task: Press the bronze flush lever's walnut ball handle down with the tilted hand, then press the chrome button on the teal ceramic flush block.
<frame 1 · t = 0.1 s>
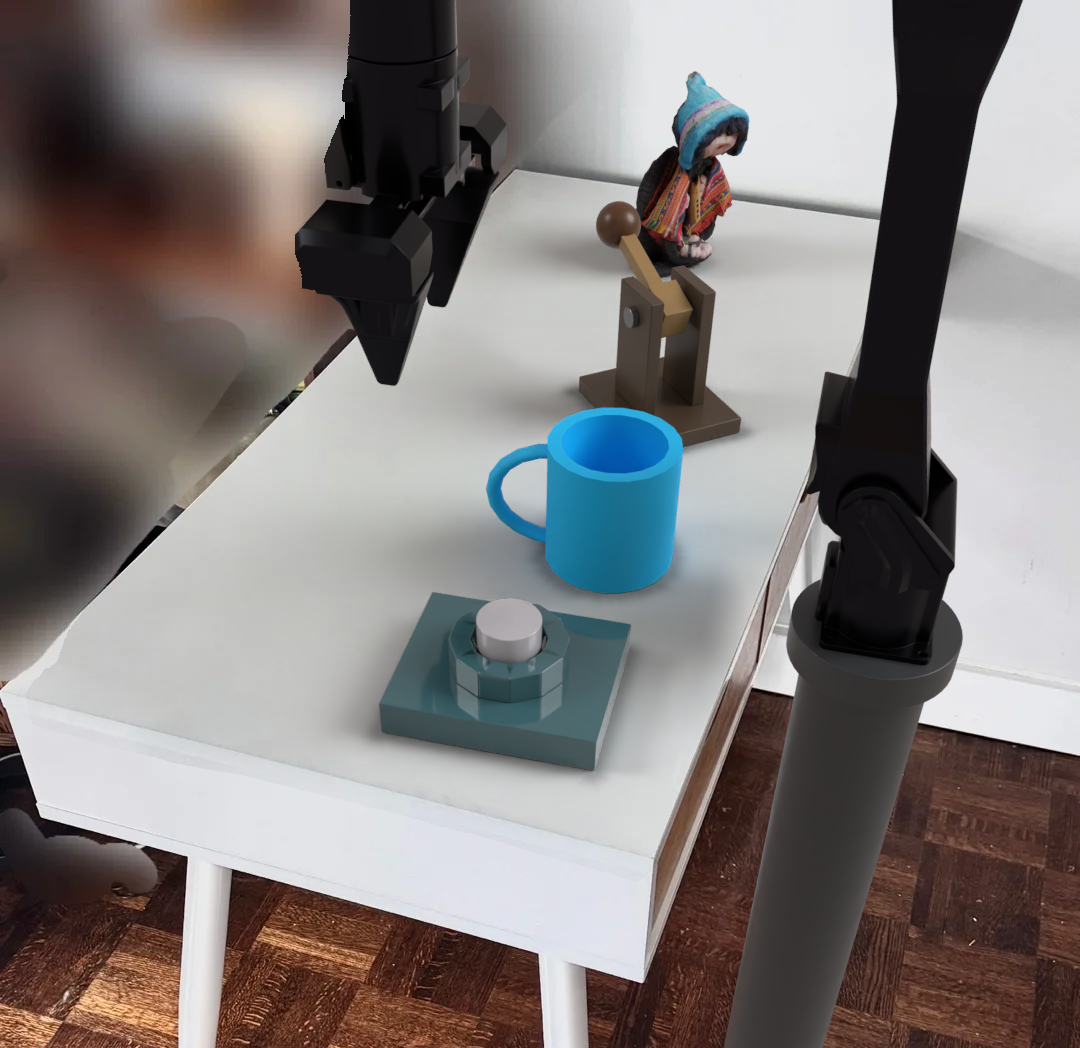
hand: (414, 342, 75), 15 cm above the table, tool pointing down, fingers open, 9 cm apart
flush lever: (641, 265, 94), point 10 cm above the table, hinge at 22.0°
flush block: (509, 691, 76), on the table
mug: (578, 552, 86), on the table
lever bracket: (657, 411, 98), on the table
flush button: (509, 630, 73), point 4 cm above the table, slide at 0.1 cm
figurine: (683, 263, 116), on the table
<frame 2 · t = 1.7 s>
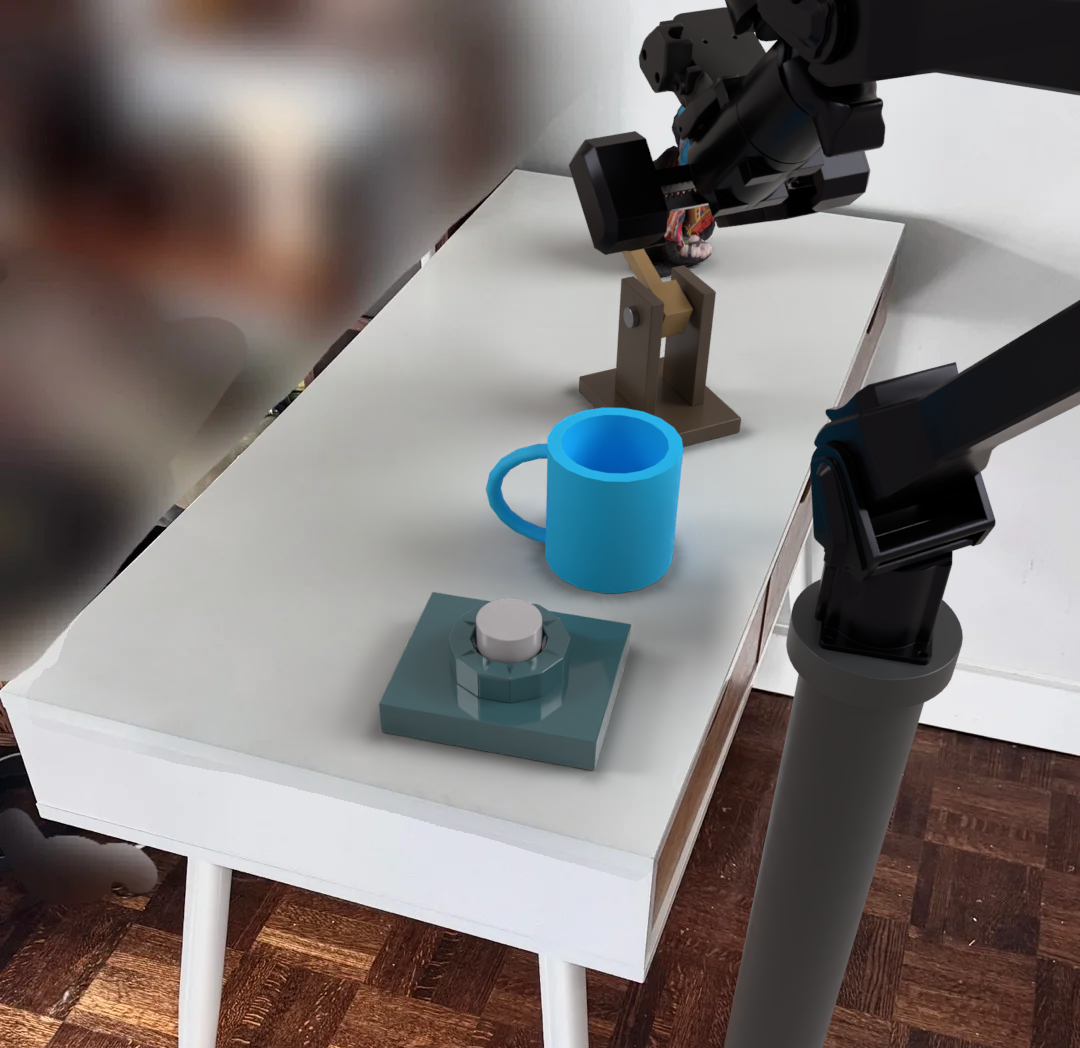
hand: (668, 230, 89), 13 cm above the table, tool tilted 45°, fingers open, 7 cm apart
nothing on the table moved.
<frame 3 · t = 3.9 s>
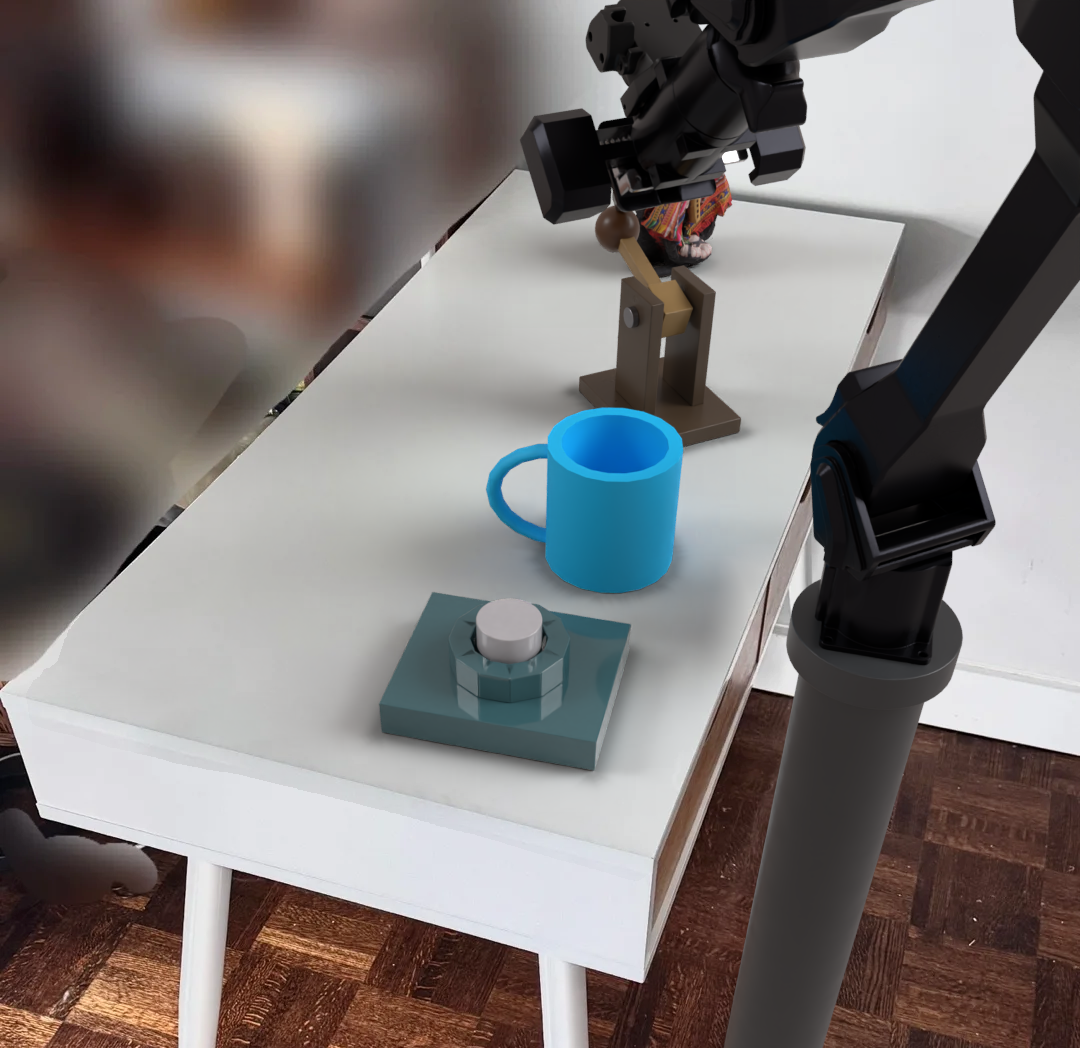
hand: (618, 203, 94), 13 cm above the table, tool tilted 45°, fingers closed, pressing on flush lever
flush lever: (640, 267, 94), point 9 cm above the table, hinge at 19.3°, touching gripper
everything else where it was.
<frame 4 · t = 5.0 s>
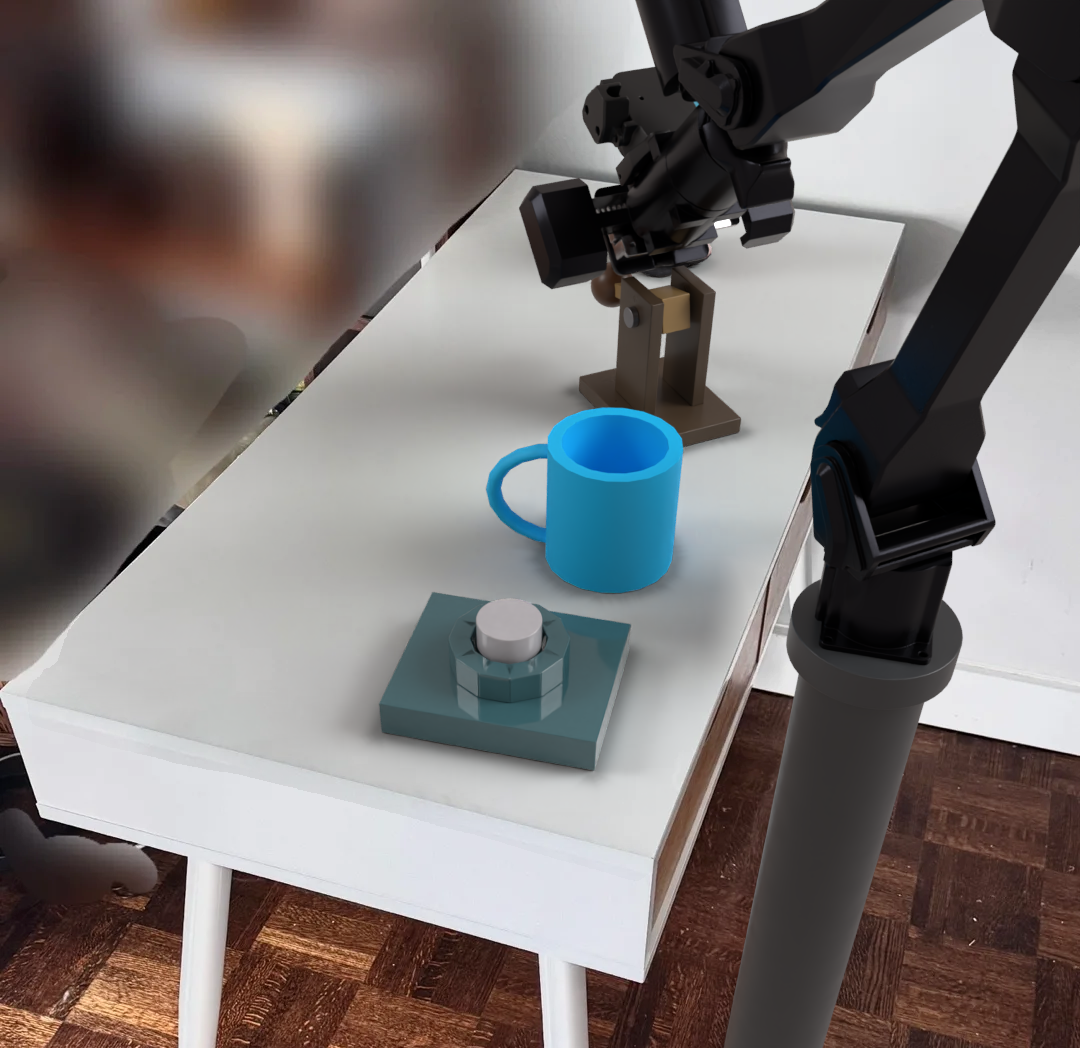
hand: (614, 262, 97), 8 cm above the table, tool tilted 45°, fingers closed, pressing on flush lever
flush lever: (637, 296, 95), point 7 cm above the table, hinge at -12.2°, touching gripper
everything else where it was.
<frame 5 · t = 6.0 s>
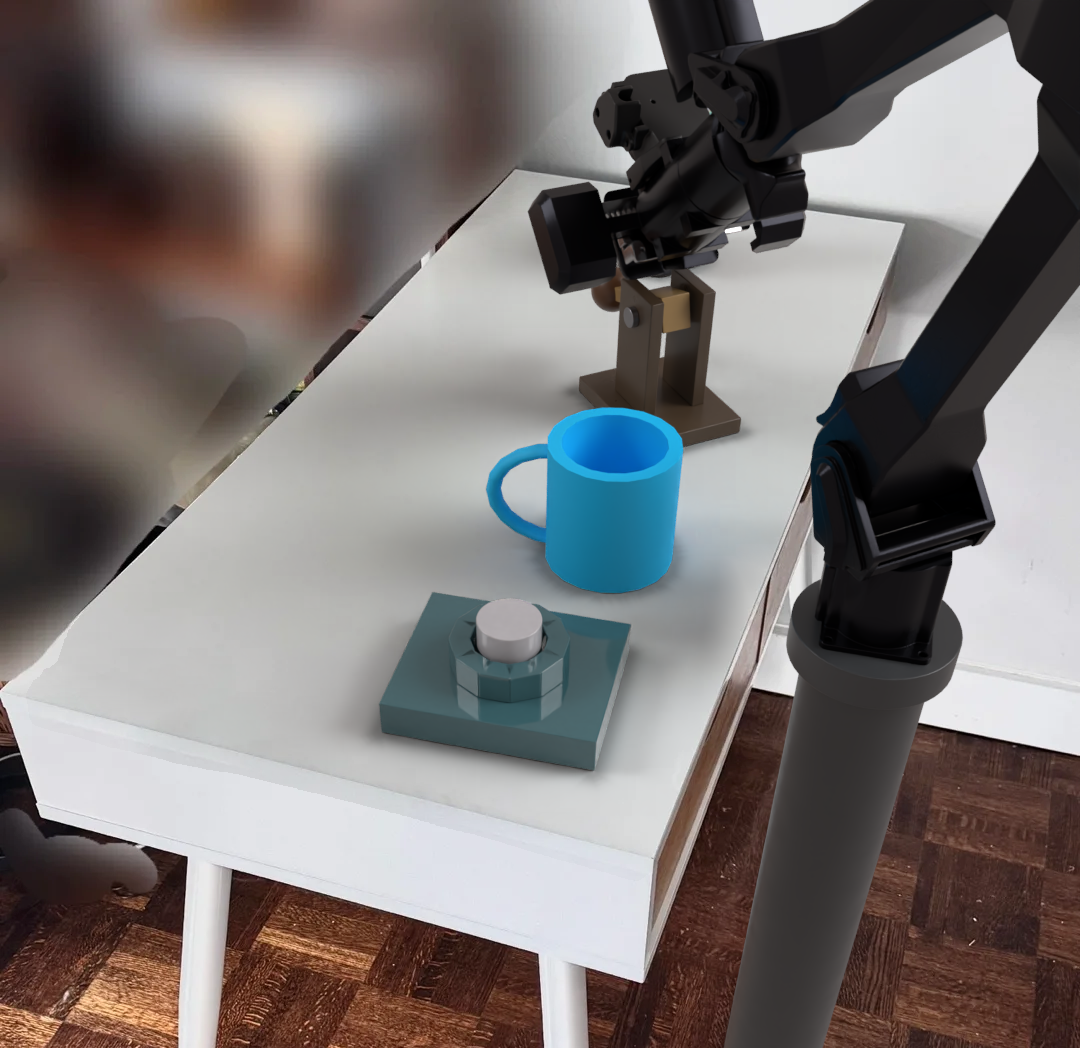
hand: (622, 264, 96), 8 cm above the table, tool tilted 45°, fingers closed, pressing on lever bracket
flush lever: (637, 298, 95), point 7 cm above the table, hinge at -14.6°
everything else where it was.
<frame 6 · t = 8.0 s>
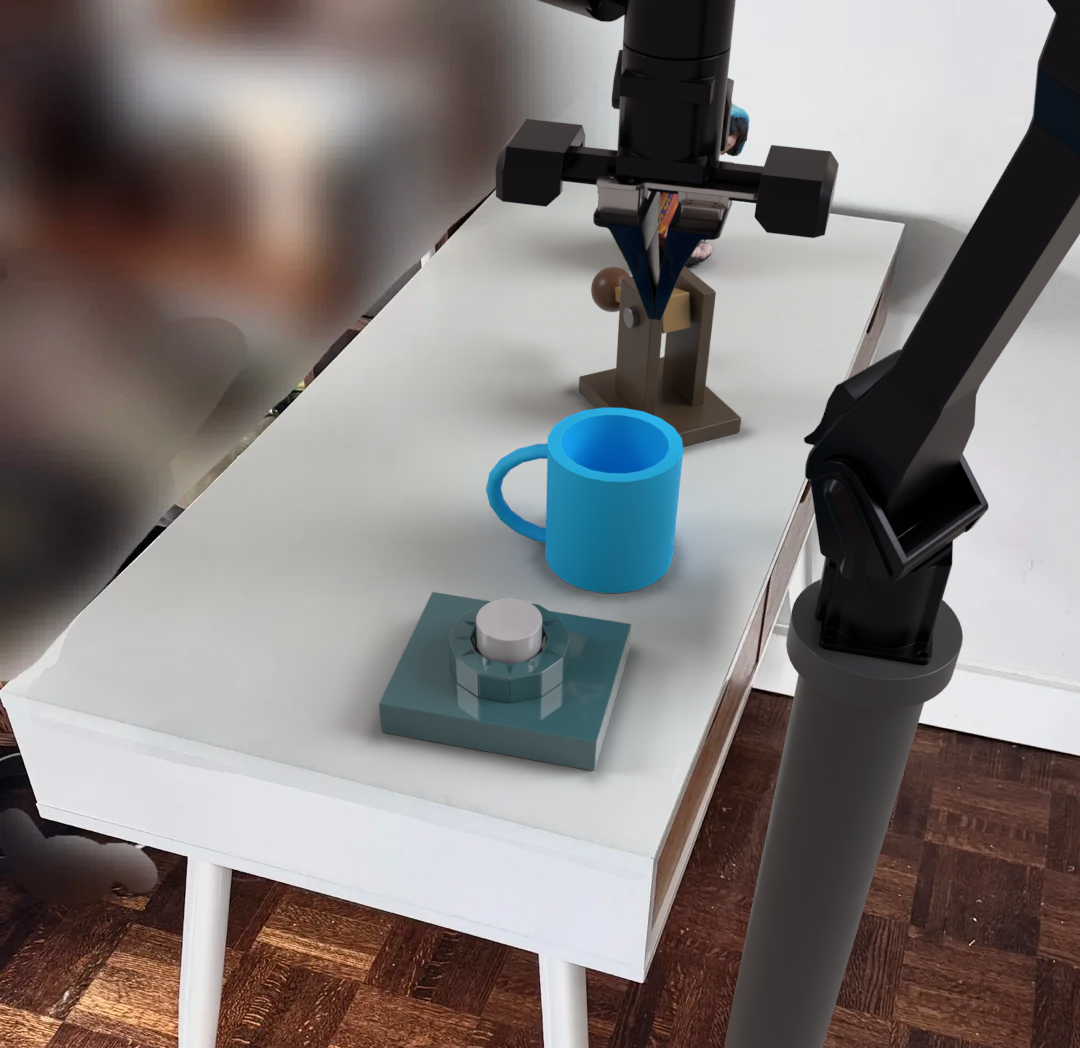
hand: (655, 317, 81), 13 cm above the table, tool pointing down, fingers closed
nothing on the table moved.
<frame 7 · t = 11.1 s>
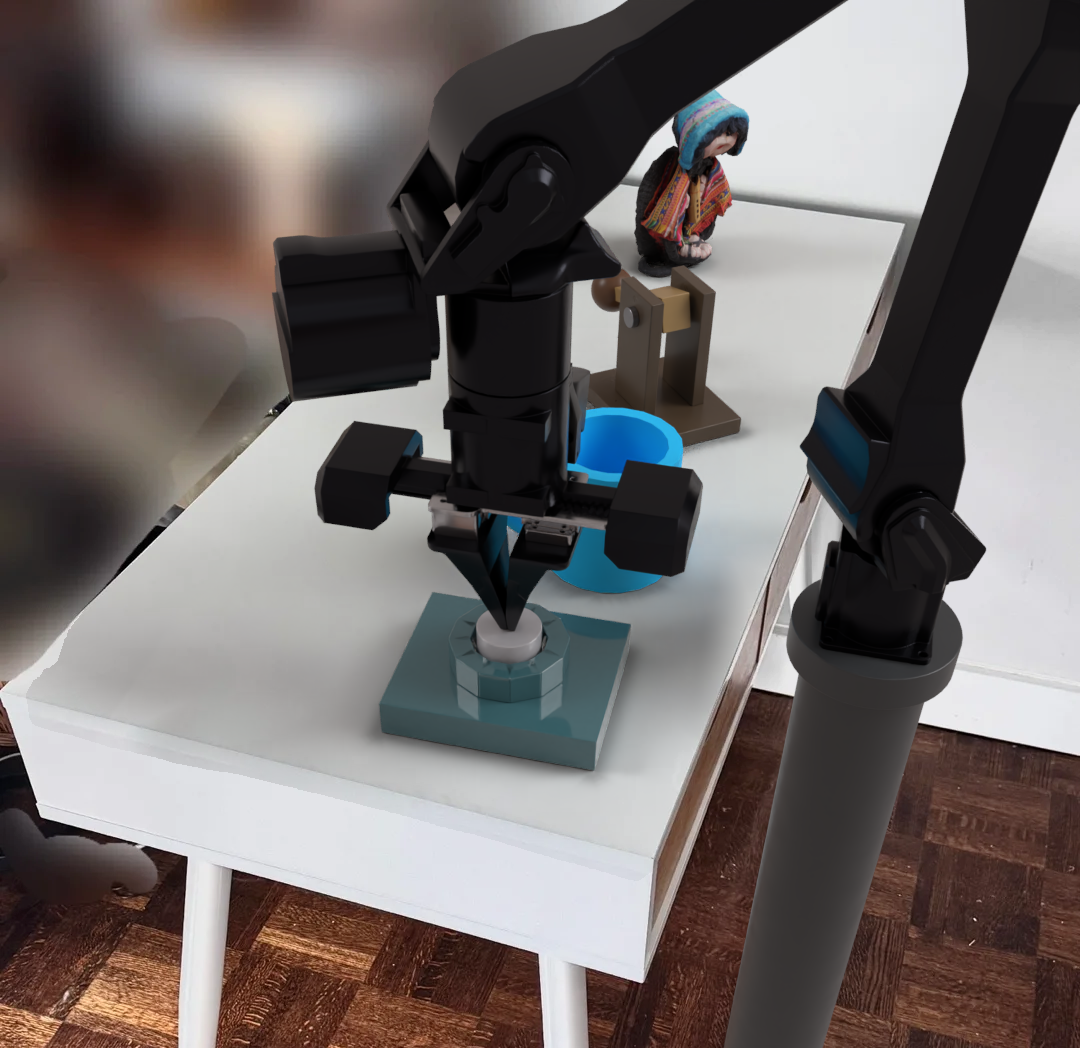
hand: (509, 625, 72), 5 cm above the table, tool pointing down, fingers closed, pressing on flush button
flush button: (509, 637, 73), point 4 cm above the table, slide at -0.4 cm, touching gripper
everything else where it was.
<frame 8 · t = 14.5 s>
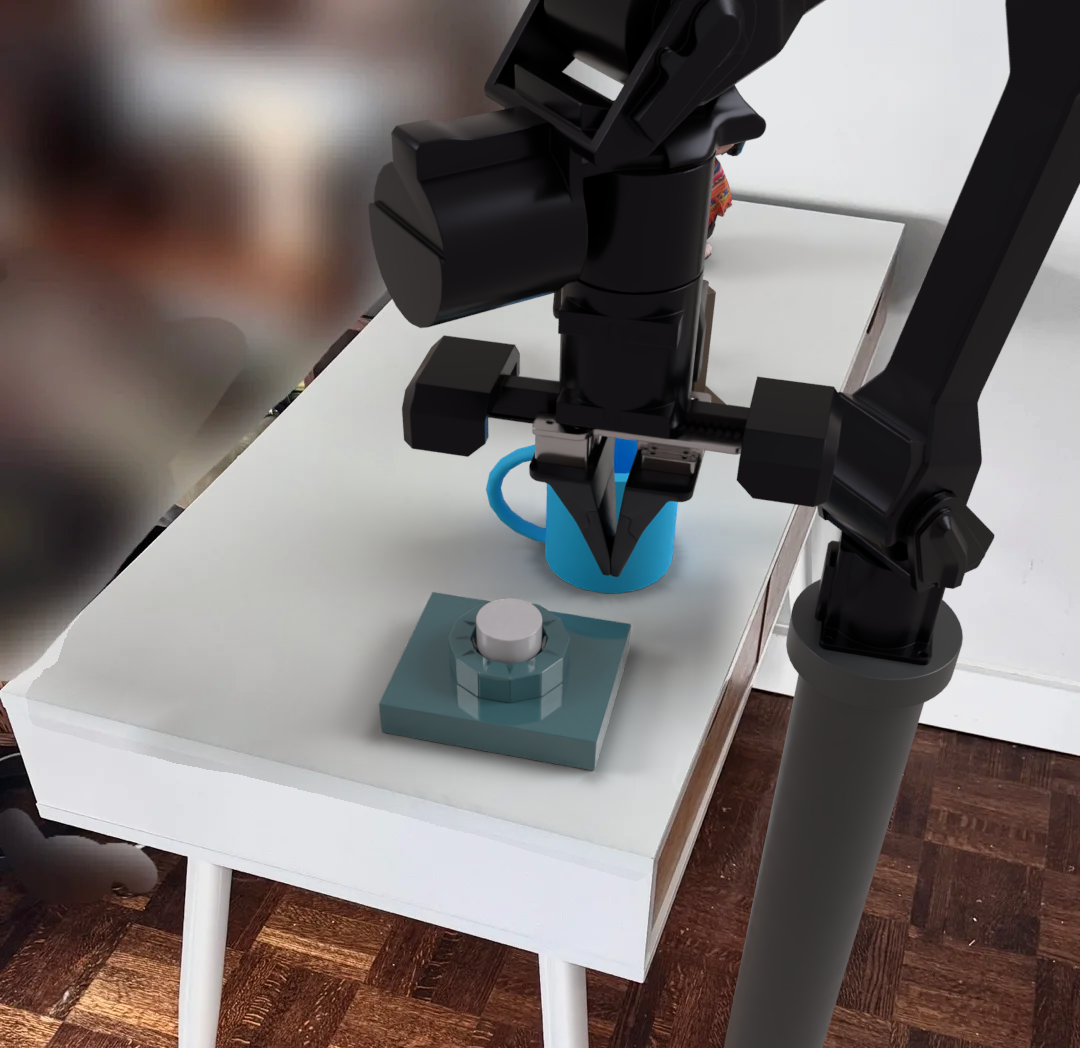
hand: (612, 570, 64), 12 cm above the table, tool pointing down, fingers closed
flush button: (509, 630, 73), point 4 cm above the table, slide at 0.1 cm
everything else where it was.
at the end: flush lever at -15° (first picture: +22°); flush button pushed in 1.1 cm at the most during the clip, back to where it started at the end; flush button slide at 0.1 cm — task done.
